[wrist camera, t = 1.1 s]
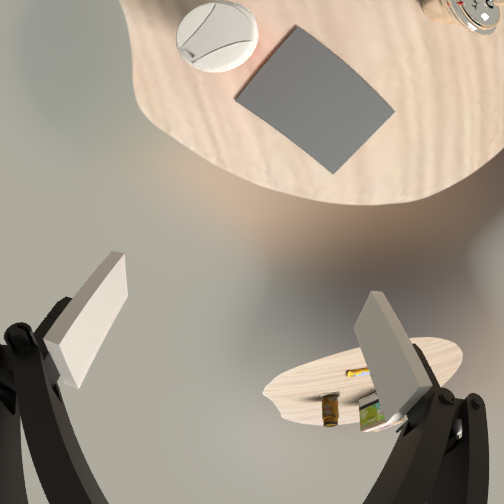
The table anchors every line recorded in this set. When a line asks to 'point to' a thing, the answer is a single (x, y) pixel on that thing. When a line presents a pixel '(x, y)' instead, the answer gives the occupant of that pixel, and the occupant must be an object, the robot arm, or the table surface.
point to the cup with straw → (465, 13)
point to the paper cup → (217, 36)
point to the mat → (315, 100)
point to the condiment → (330, 408)
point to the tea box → (373, 414)
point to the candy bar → (358, 372)
